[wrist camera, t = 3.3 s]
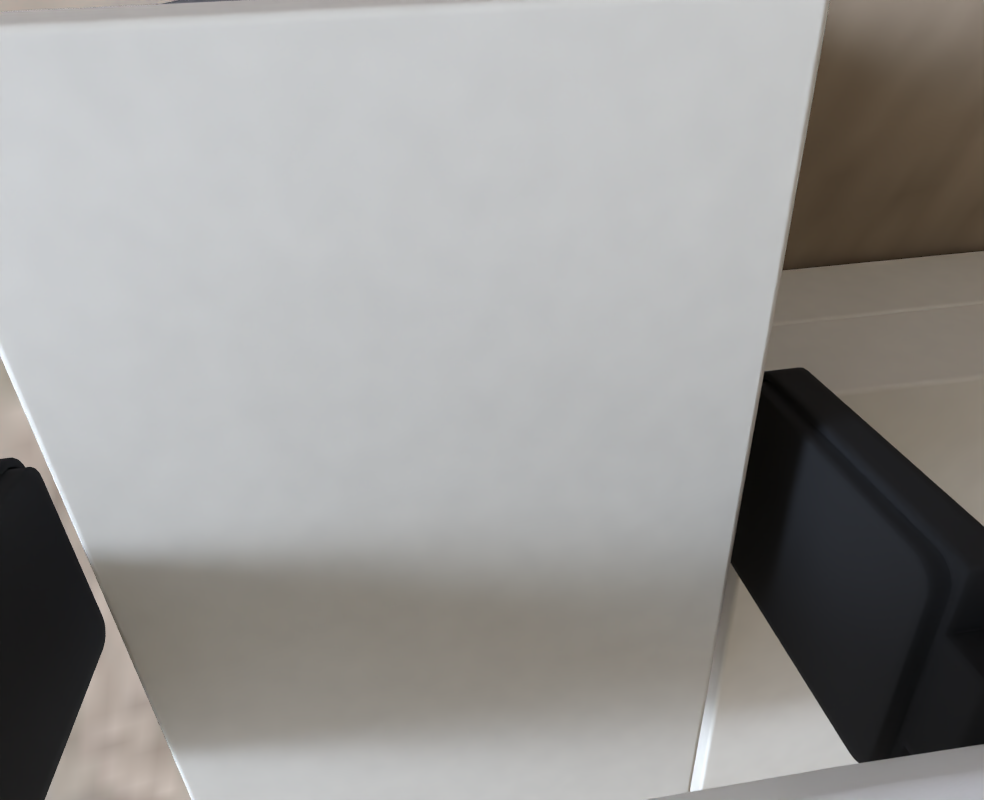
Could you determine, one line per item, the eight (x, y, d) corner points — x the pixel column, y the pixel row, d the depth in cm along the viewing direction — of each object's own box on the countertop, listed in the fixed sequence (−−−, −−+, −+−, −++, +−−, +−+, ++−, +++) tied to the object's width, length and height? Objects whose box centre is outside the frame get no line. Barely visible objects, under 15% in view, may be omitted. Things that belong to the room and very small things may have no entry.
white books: (660, 280, 14) (770, 400, 10) (1027, 245, 14) (1258, 343, 11) (628, 672, 19) (690, 841, 16) (893, 631, 20) (1012, 784, 16)
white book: (-6, 12, 7) (-148, 30, 5) (720, -23, 8) (839, -18, 6) (245, 744, 12) (223, 882, 11) (644, 683, 13) (690, 802, 11)
